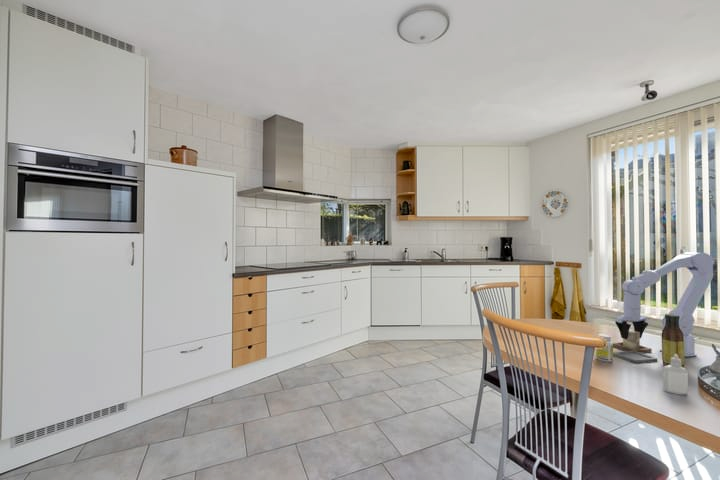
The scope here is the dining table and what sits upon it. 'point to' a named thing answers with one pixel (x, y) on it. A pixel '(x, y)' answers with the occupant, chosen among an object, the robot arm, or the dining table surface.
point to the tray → (635, 356)
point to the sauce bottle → (672, 340)
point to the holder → (641, 350)
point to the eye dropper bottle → (675, 377)
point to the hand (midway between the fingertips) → (631, 338)
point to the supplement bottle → (605, 350)
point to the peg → (632, 340)
